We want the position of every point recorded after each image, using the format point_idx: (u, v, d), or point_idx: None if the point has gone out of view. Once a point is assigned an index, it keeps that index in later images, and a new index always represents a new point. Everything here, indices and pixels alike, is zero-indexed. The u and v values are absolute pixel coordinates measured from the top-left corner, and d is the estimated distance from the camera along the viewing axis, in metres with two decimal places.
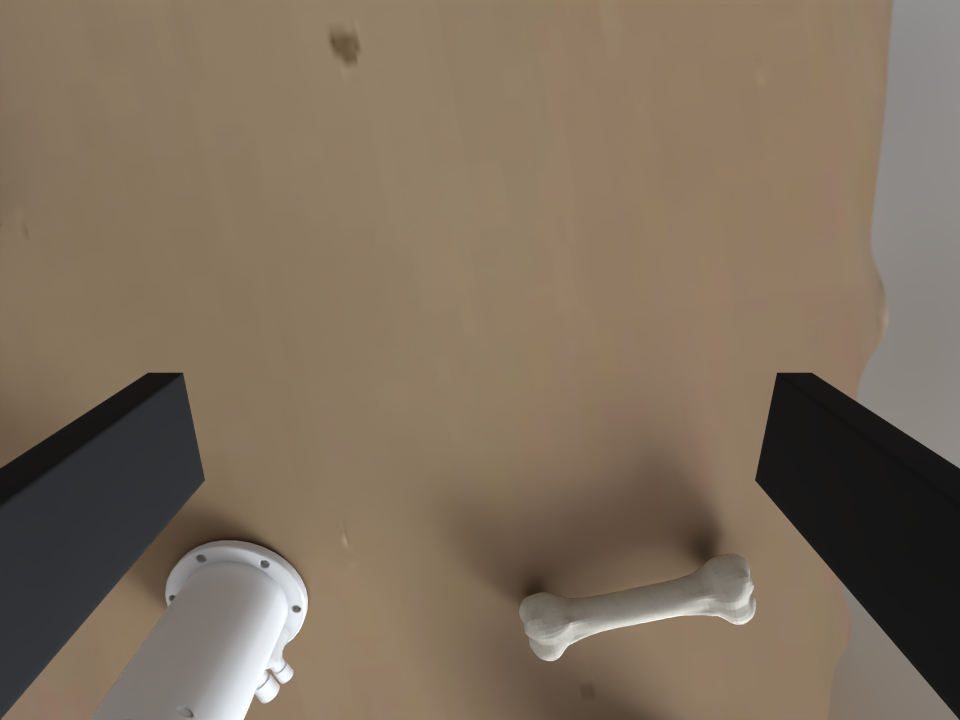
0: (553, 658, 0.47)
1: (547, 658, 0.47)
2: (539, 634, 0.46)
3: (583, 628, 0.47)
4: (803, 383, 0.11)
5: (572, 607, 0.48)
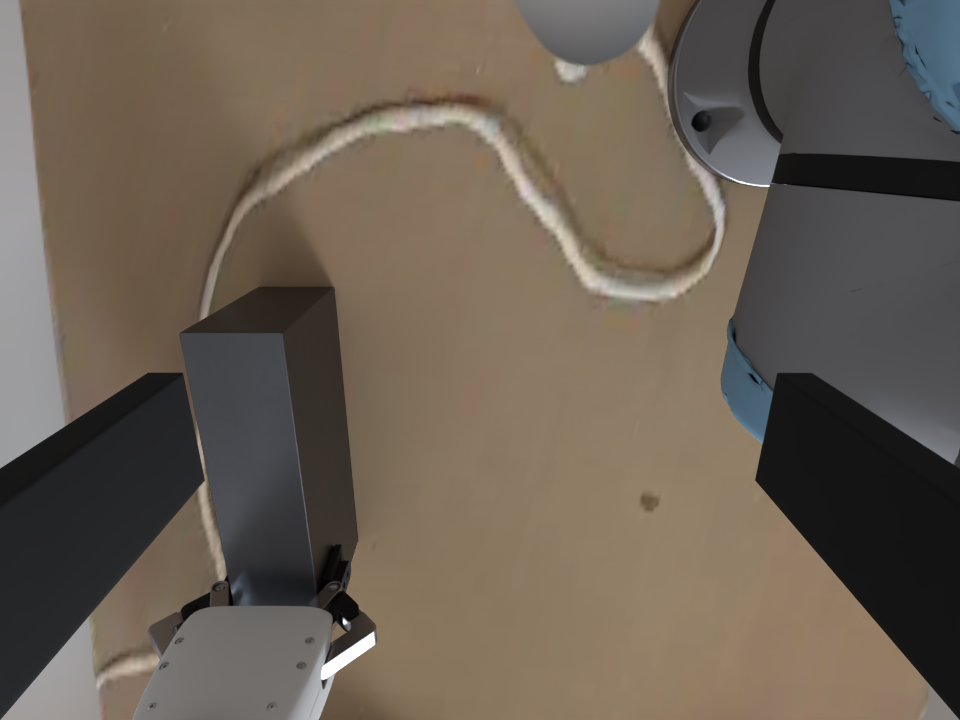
0: None
1: None
2: None
3: None
4: (803, 383, 0.11)
5: None
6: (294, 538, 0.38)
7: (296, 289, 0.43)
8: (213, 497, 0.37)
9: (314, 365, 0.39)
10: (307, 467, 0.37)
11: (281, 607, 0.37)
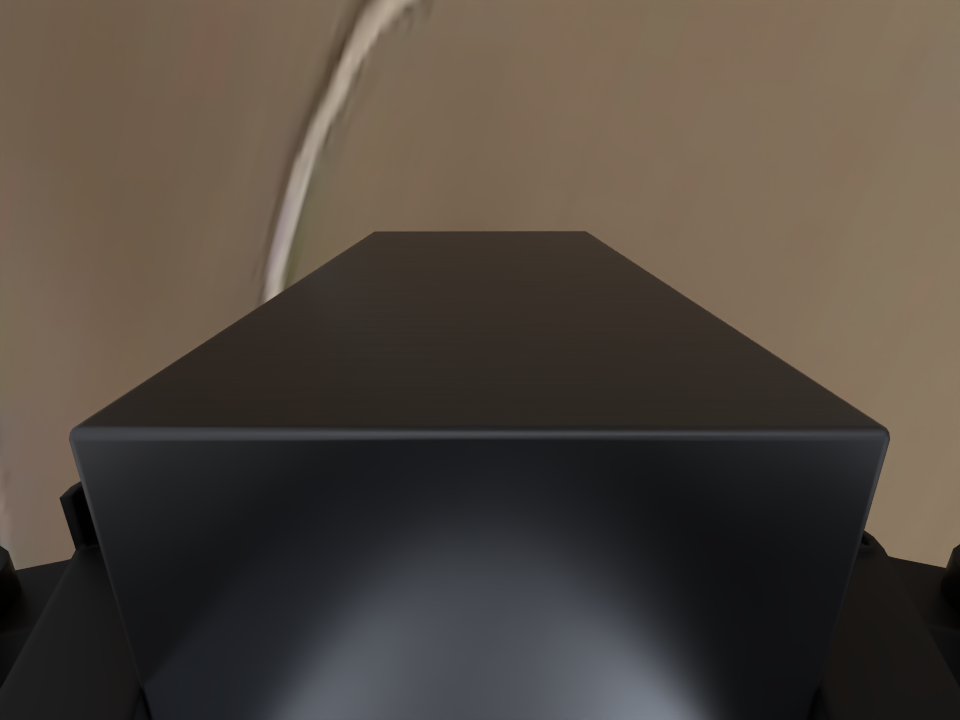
0: None
1: None
2: None
3: None
4: None
5: None
6: None
7: (492, 235, 0.15)
8: None
9: None
10: None
11: None
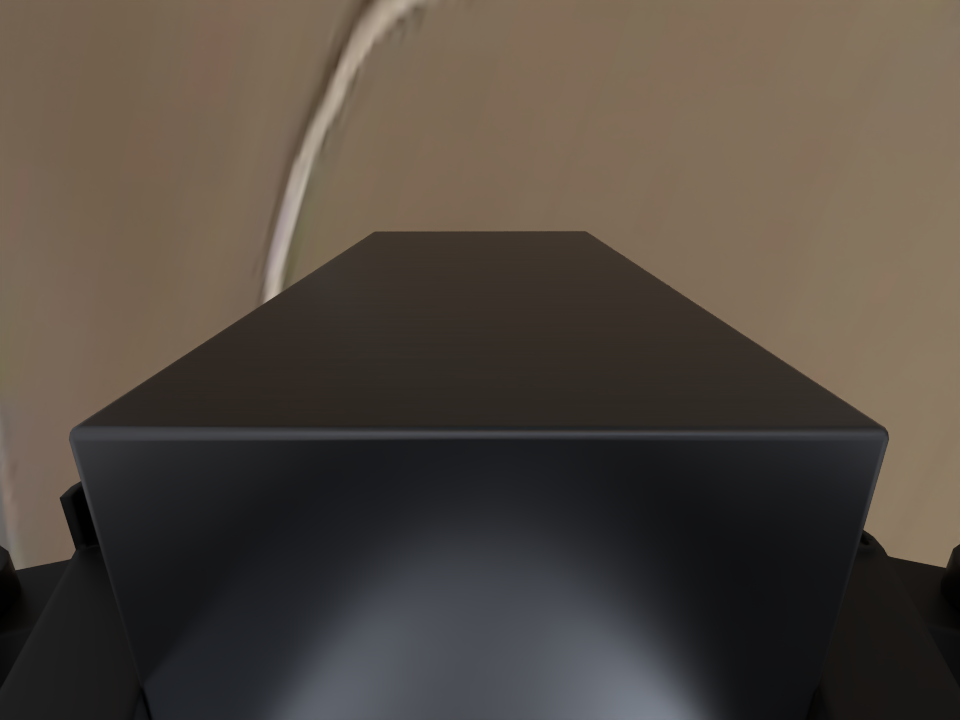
0: None
1: None
2: None
3: None
4: None
5: None
6: None
7: (492, 235, 0.15)
8: None
9: None
10: None
11: None
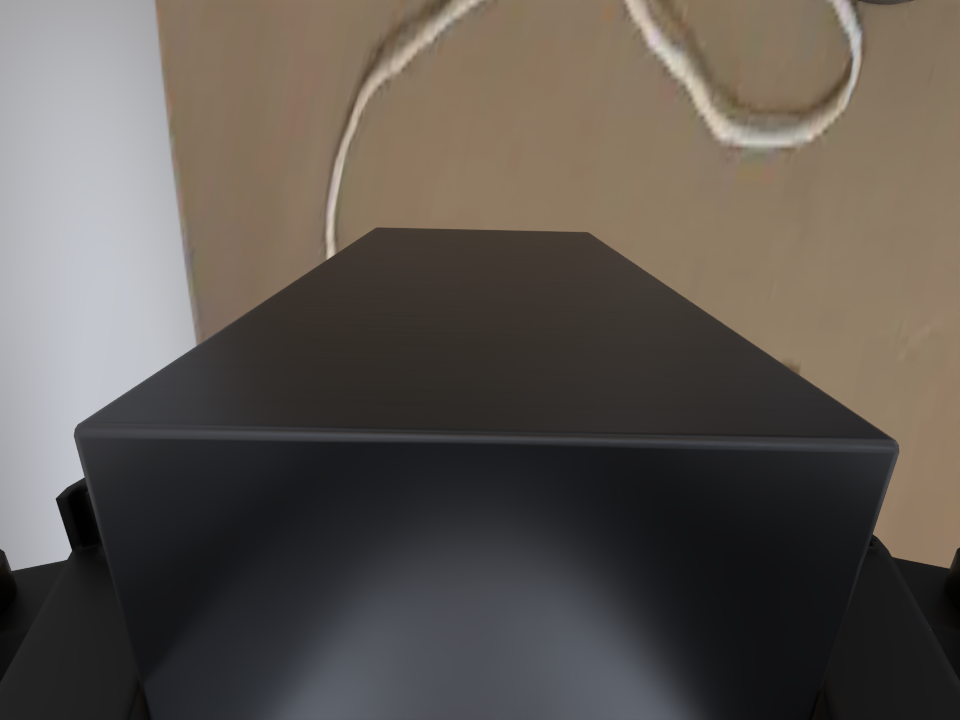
0: None
1: None
2: None
3: None
4: None
5: None
6: None
7: (494, 233, 0.15)
8: None
9: None
10: None
11: None
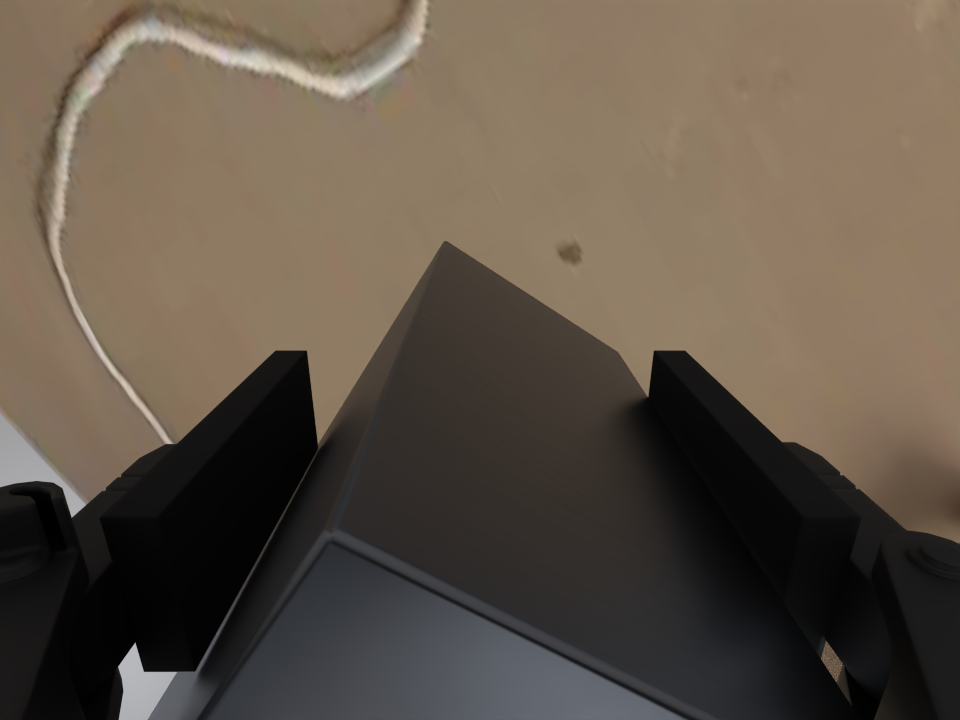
0: None
1: None
2: None
3: None
4: (672, 359, 0.13)
5: None
6: None
7: (548, 313, 0.15)
8: None
9: None
10: None
11: None
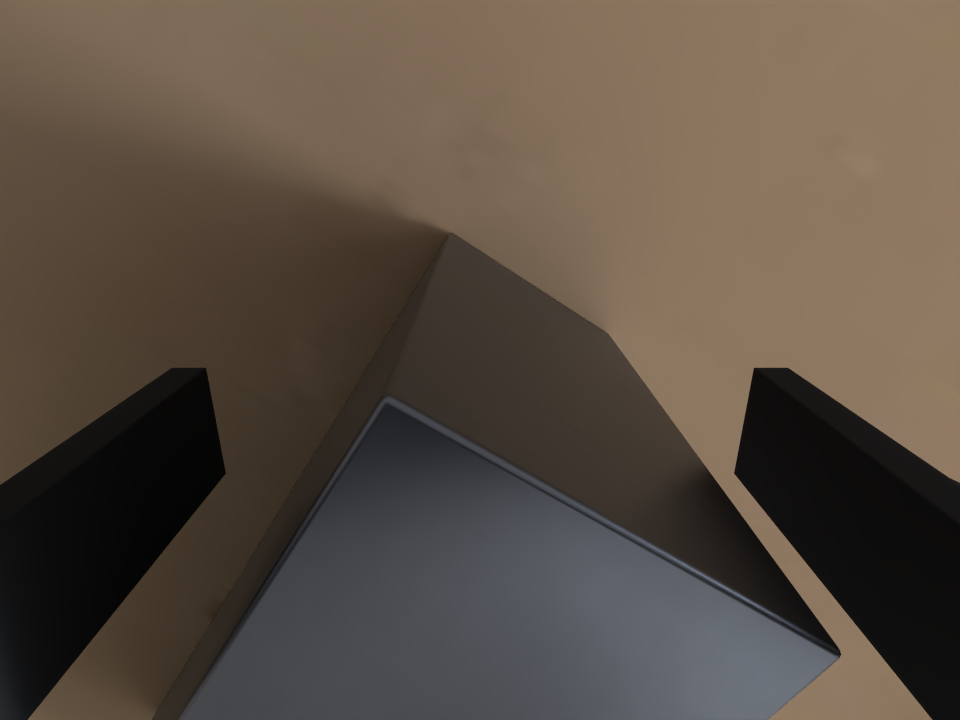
0: None
1: None
2: None
3: None
4: (778, 378, 0.12)
5: None
6: None
7: (544, 296, 0.17)
8: None
9: None
10: None
11: None
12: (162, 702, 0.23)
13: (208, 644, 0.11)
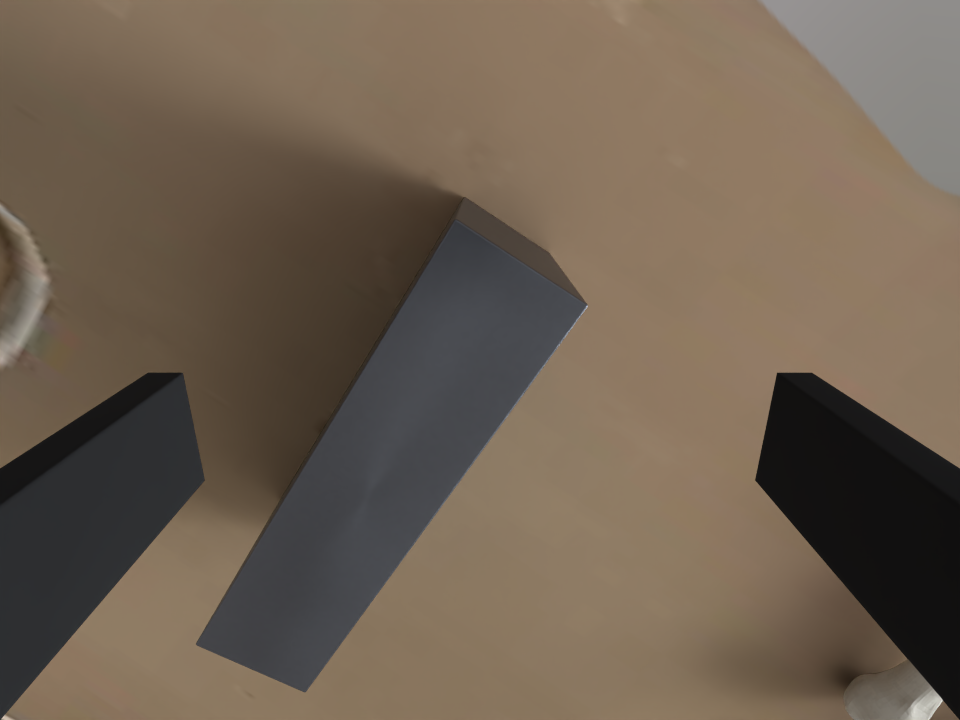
0: None
1: None
2: None
3: (929, 700, 0.41)
4: (803, 383, 0.11)
5: (900, 684, 0.42)
6: (381, 552, 0.26)
7: (513, 230, 0.32)
8: (317, 450, 0.24)
9: None
10: None
11: None
12: None
13: (364, 363, 0.26)
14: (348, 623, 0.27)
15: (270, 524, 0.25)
